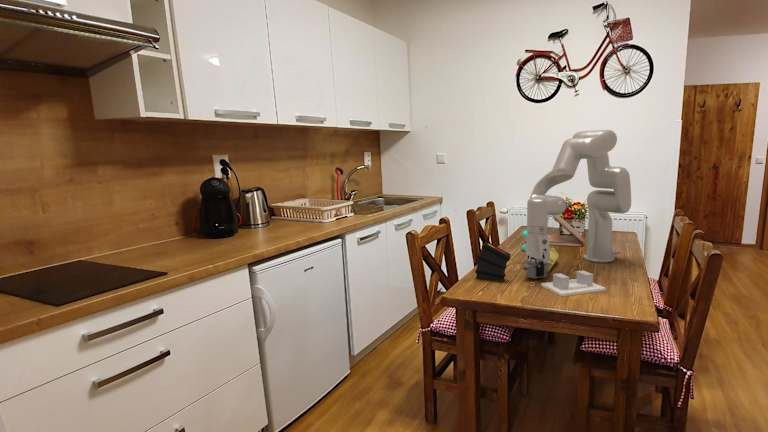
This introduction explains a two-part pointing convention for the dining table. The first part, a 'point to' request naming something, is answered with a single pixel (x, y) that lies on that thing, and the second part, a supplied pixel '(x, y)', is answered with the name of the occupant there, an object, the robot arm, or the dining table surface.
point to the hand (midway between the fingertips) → (536, 274)
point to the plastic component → (551, 259)
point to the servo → (534, 268)
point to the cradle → (573, 284)
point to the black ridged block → (492, 263)
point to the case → (566, 240)
